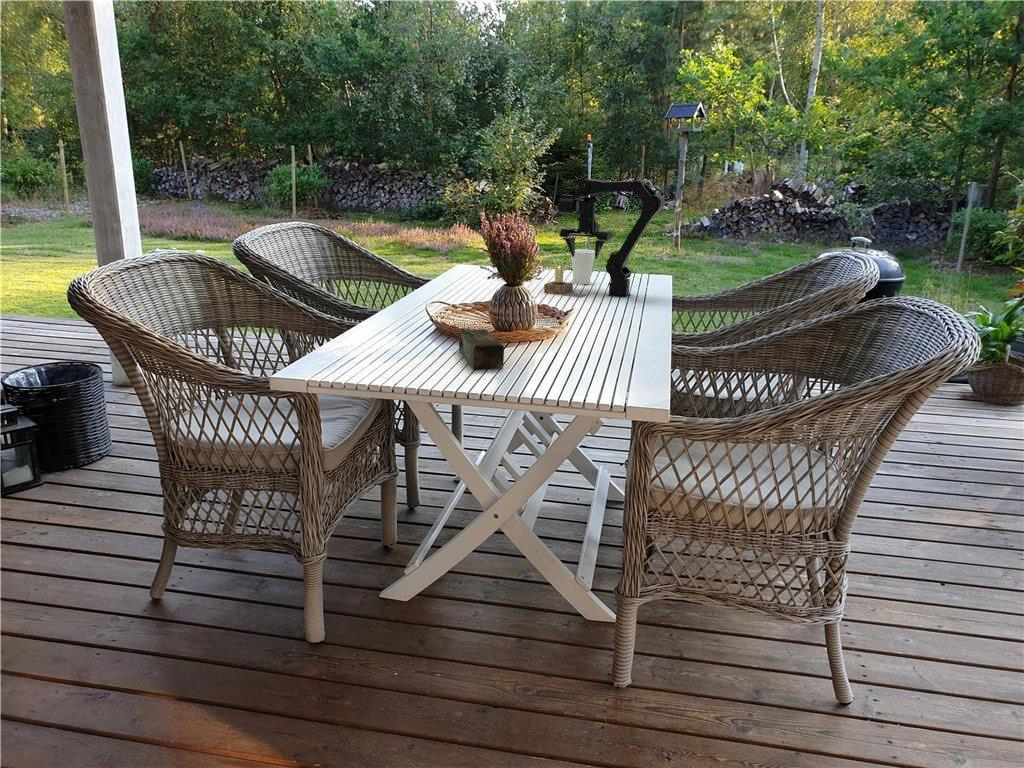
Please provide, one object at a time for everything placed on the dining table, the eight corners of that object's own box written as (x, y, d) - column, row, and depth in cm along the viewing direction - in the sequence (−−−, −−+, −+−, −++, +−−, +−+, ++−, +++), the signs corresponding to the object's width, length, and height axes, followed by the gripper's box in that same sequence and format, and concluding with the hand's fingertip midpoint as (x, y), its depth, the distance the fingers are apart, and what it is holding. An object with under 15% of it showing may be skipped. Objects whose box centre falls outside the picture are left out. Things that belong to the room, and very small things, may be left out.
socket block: (572, 292, 281) (572, 283, 280) (563, 295, 274) (564, 286, 273) (553, 290, 285) (553, 281, 284) (544, 293, 278) (544, 284, 277)
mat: (589, 295, 276) (589, 294, 276) (581, 298, 270) (581, 297, 270) (571, 293, 279) (571, 292, 279) (563, 296, 273) (563, 295, 273)
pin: (563, 292, 280) (564, 266, 277) (560, 294, 278) (561, 267, 275) (556, 292, 281) (557, 265, 278) (553, 293, 279) (553, 266, 276)
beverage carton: (487, 349, 201) (487, 326, 199) (505, 370, 184) (505, 344, 182) (458, 351, 200) (458, 327, 197) (473, 371, 182) (473, 345, 180)
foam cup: (565, 282, 301) (566, 250, 297) (585, 281, 305) (587, 248, 301) (577, 286, 293) (578, 253, 289) (597, 285, 297) (599, 252, 293)
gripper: (618, 214, 275) (616, 257, 280) (572, 211, 283) (570, 253, 288) (607, 216, 266) (605, 260, 270) (559, 213, 274) (558, 256, 279)
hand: (584, 257), depth 277 cm, fingers open, 9 cm apart
